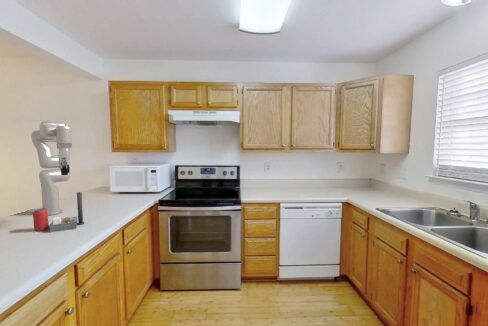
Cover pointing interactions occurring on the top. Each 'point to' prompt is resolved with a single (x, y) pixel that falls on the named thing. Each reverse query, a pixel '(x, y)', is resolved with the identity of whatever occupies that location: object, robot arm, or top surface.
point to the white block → (57, 220)
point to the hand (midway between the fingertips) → (65, 173)
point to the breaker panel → (64, 224)
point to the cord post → (80, 208)
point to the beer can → (40, 219)
